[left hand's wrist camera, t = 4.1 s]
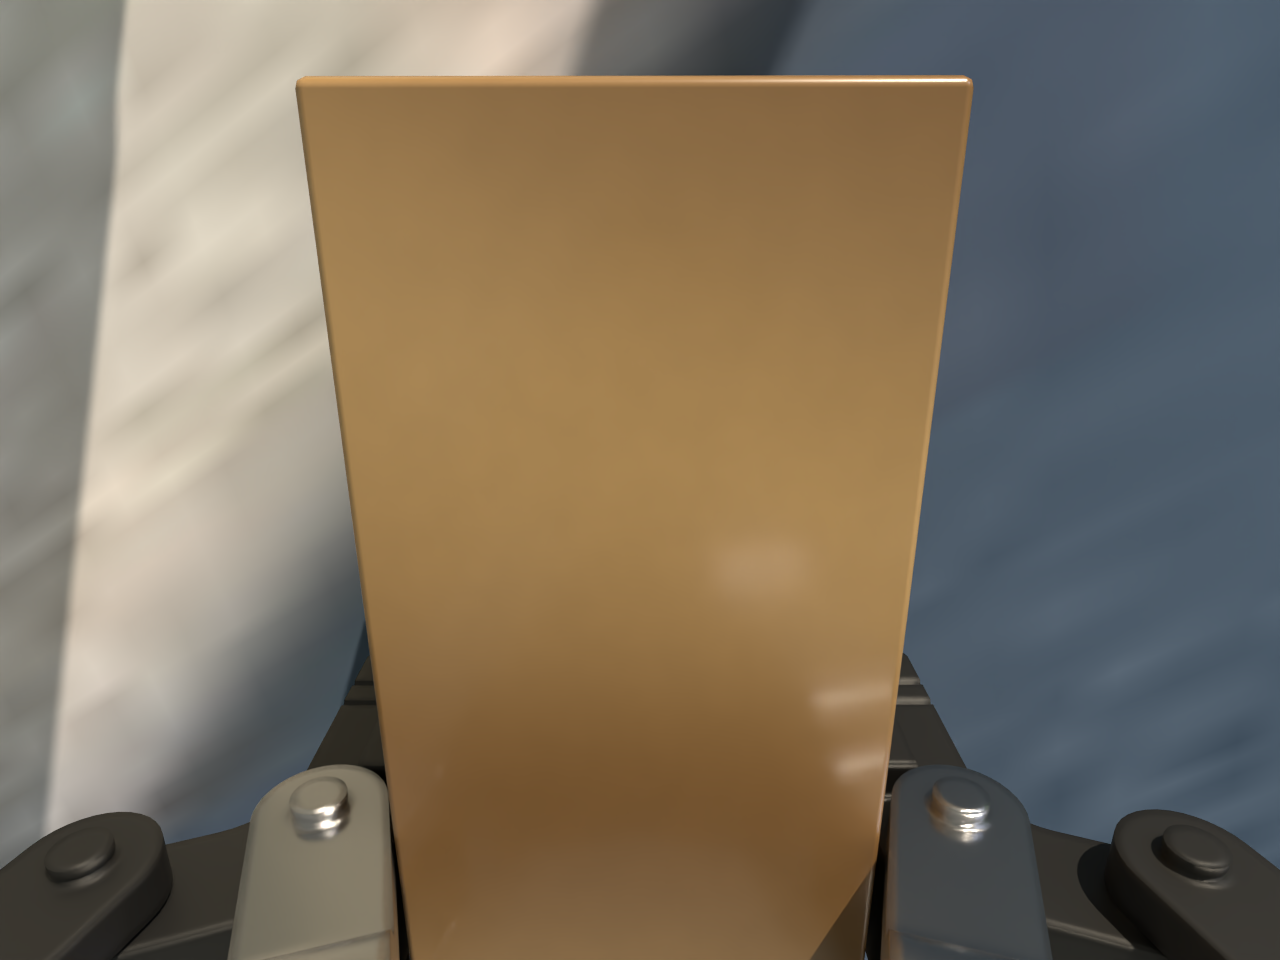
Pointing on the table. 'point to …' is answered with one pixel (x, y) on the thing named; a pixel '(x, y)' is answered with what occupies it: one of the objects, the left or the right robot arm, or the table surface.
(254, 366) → the table surface
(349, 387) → the post
